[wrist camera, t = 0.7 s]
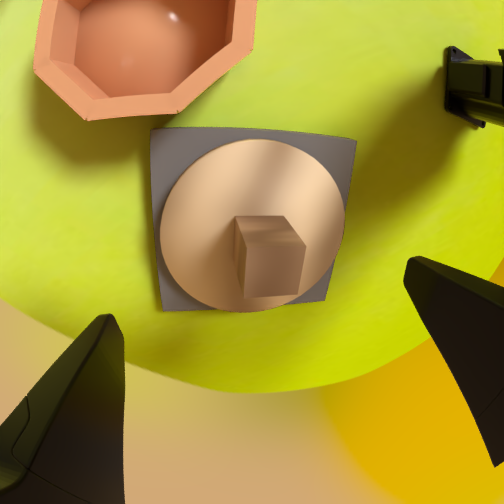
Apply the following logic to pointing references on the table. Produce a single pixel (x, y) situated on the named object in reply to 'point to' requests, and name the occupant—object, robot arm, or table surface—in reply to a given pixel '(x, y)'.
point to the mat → (207, 138)
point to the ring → (139, 52)
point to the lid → (251, 225)
